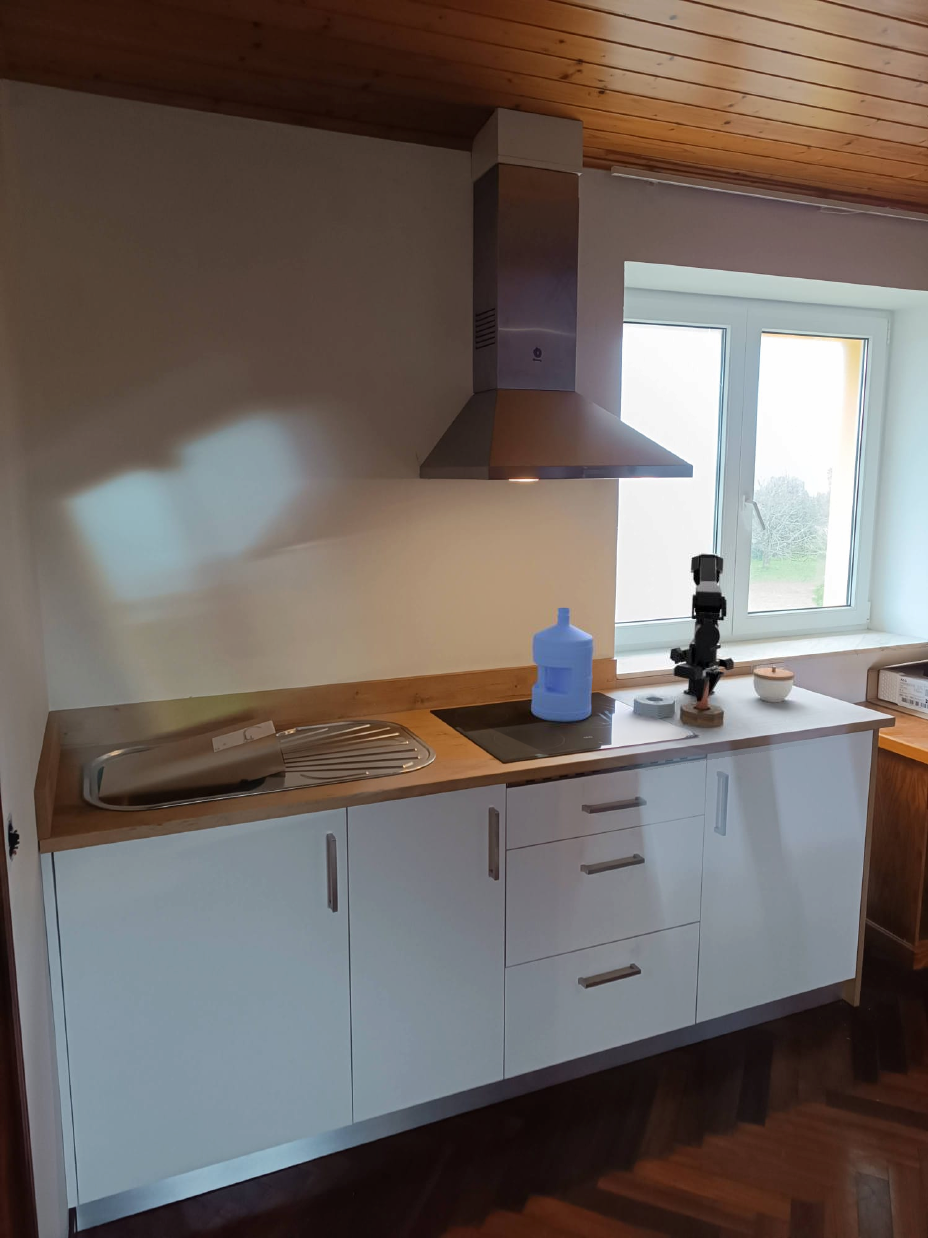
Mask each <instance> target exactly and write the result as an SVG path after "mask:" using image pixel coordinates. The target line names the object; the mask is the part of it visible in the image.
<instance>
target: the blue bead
mask: <svg viewBox="0 0 928 1238" xmlns="http://www.w3.org/2000/svg"><path fill="white" fill-rule="evenodd" d="M632 710H633V712H634V713H635V714H637V715H639V716H641V717H647V718H655V719H659V718H660V719H662V718H669V717H670V718H671V717H672V716H674V714H675V713H676V699H674V698H672V697H670V696H668V695H663V694H653V693H648V694H637V695H636V696H635V697H634V698H633V709H632Z"/></svg>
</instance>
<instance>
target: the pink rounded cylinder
mask: <svg viewBox="0 0 928 1238" xmlns="http://www.w3.org/2000/svg"><path fill="white" fill-rule="evenodd" d="M708 692H709V681H708V684H707V687H706V690H705V692H704V695H703V698H702V700H701V701H700V702H699V701H697V700H696V702H695V703H696V708H698V709H707V708H708V704H709V698H708Z"/></svg>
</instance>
